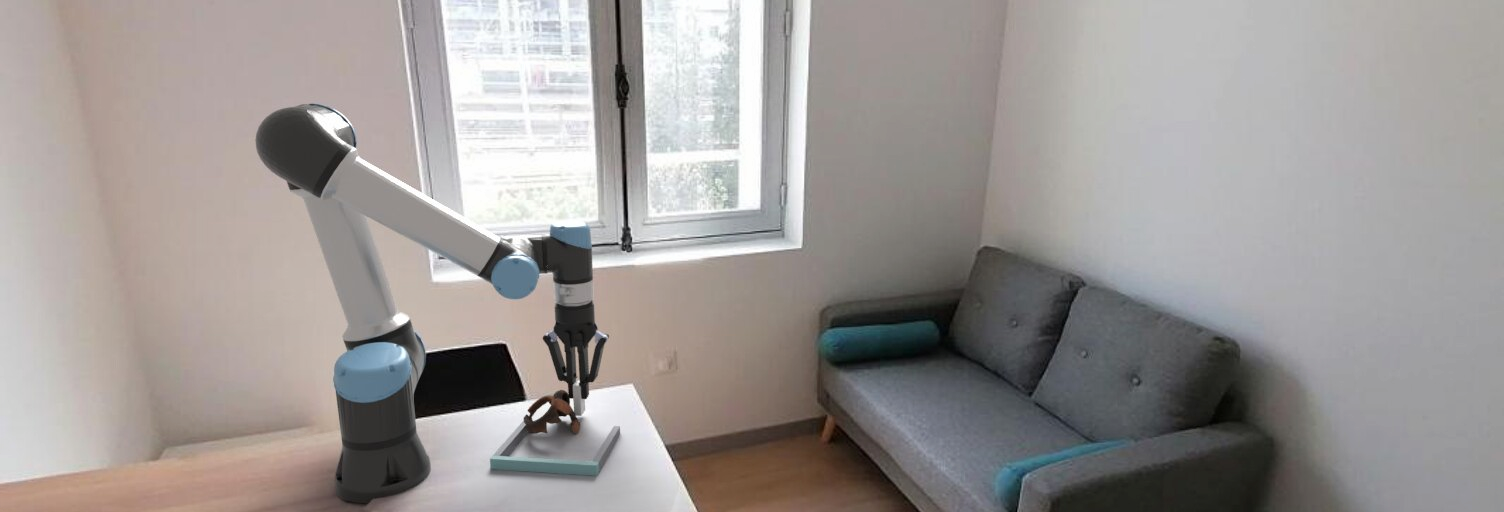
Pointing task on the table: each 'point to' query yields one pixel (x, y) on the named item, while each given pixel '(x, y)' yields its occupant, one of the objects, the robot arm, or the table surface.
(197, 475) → the table surface
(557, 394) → the brown curved openwork piece
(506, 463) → the bay
